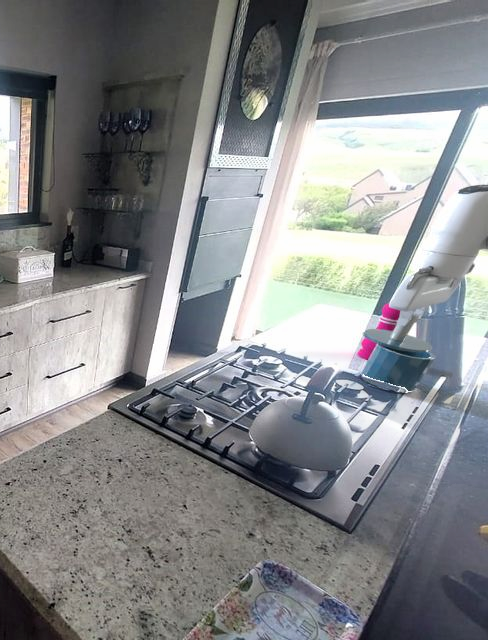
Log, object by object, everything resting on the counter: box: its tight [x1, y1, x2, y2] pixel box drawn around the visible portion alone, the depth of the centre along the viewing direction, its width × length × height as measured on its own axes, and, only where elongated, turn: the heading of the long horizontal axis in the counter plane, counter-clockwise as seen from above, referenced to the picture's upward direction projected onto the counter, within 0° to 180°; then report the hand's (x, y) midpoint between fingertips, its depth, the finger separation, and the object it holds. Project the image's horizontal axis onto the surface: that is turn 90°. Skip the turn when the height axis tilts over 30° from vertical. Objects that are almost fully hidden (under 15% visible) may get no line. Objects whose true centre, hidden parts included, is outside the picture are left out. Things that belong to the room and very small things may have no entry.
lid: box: [362, 313, 433, 353], centre depth 96 cm, size 13×13×8 cm
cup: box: [360, 343, 436, 392], centre depth 112 cm, size 12×12×10 cm
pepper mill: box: [357, 301, 401, 361], centre depth 124 cm, size 7×7×20 cm
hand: (405, 323), depth 96 cm, fingers closed on lid, 2 cm apart
